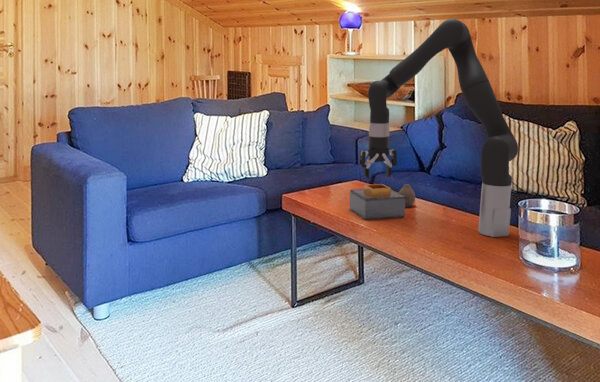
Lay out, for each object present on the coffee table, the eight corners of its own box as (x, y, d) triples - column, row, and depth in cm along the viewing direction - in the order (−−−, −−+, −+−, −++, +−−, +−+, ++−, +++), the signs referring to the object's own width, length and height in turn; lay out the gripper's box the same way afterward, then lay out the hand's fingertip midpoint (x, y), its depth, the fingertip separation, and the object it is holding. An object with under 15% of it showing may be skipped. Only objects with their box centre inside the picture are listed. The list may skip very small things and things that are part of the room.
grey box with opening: (404, 217, 201) (405, 189, 199) (364, 220, 197) (365, 192, 195) (383, 204, 220) (384, 179, 217) (346, 207, 215) (347, 181, 213)
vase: (413, 204, 220) (414, 183, 218) (415, 208, 214) (416, 187, 212) (396, 203, 221) (397, 182, 219) (398, 208, 214) (398, 186, 212)
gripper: (365, 136, 194) (363, 180, 198) (400, 135, 198) (399, 178, 202) (357, 134, 201) (356, 176, 205) (392, 133, 205) (390, 174, 209)
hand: (377, 177), depth 203 cm, fingers open, 8 cm apart
